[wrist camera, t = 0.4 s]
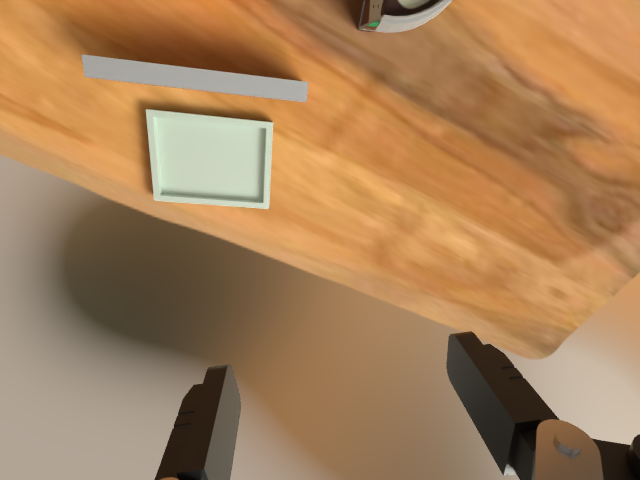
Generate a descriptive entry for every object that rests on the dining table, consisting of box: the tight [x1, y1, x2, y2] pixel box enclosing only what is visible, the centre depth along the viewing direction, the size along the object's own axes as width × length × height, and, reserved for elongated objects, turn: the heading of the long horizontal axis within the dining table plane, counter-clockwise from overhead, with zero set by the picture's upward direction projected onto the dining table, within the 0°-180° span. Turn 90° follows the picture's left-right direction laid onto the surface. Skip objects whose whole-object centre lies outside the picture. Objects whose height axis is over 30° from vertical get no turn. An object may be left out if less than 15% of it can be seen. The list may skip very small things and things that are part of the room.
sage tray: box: [146, 109, 273, 209], centre depth 34 cm, size 9×12×1 cm
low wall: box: [81, 54, 308, 102], centre depth 29 cm, size 2×18×5 cm, turn 85°
